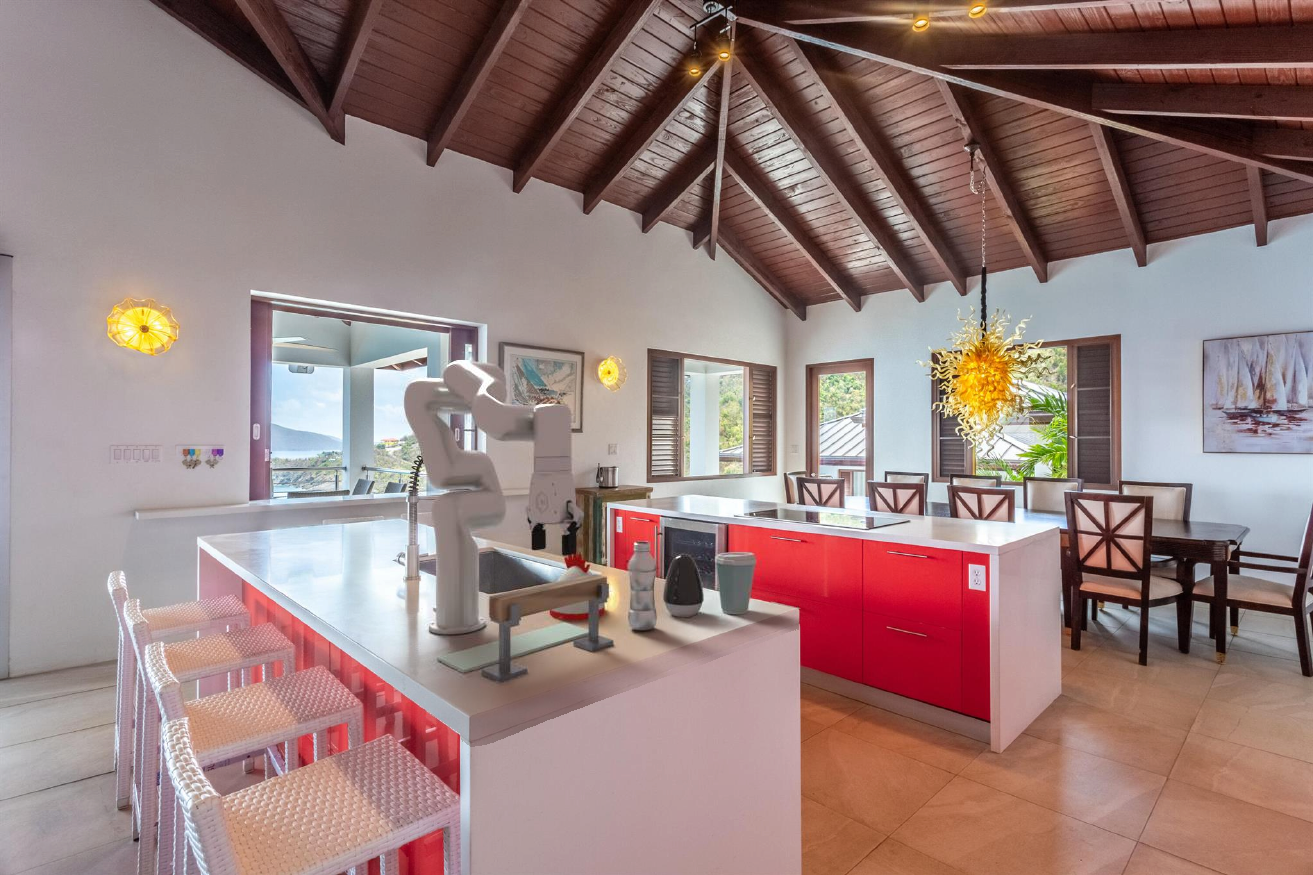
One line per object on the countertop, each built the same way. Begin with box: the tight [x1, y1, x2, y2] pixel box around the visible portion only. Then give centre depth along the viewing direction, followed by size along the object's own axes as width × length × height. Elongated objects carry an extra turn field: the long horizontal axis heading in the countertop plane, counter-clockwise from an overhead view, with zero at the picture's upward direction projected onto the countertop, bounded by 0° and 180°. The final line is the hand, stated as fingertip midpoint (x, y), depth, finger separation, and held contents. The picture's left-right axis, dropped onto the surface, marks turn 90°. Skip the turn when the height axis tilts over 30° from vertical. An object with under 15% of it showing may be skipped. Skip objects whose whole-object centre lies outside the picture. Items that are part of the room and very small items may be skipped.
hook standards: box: [481, 582, 615, 684], centre depth 122 cm, size 7×28×14 cm, turn 137°
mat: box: [436, 622, 589, 674], centre depth 129 cm, size 10×32×1 cm, turn 137°
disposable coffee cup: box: [714, 551, 757, 615], centre depth 156 cm, size 11×11×15 cm
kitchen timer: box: [549, 552, 606, 621], centre depth 155 cm, size 14×14×15 cm
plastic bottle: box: [627, 540, 658, 631], centre depth 141 cm, size 6×7×20 cm
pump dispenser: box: [662, 553, 705, 618], centre depth 153 cm, size 10×10×15 cm
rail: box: [488, 573, 608, 622], centre depth 122 cm, size 4×26×4 cm, turn 137°
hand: (553, 552), depth 121 cm, fingers open, 9 cm apart
